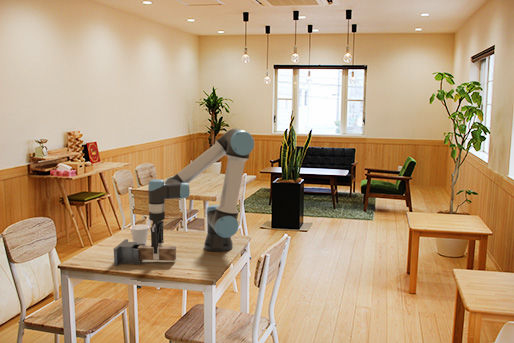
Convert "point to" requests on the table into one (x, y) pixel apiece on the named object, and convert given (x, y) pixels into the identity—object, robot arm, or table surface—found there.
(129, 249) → the endcap
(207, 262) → the table surface
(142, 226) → the cup
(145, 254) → the slat
